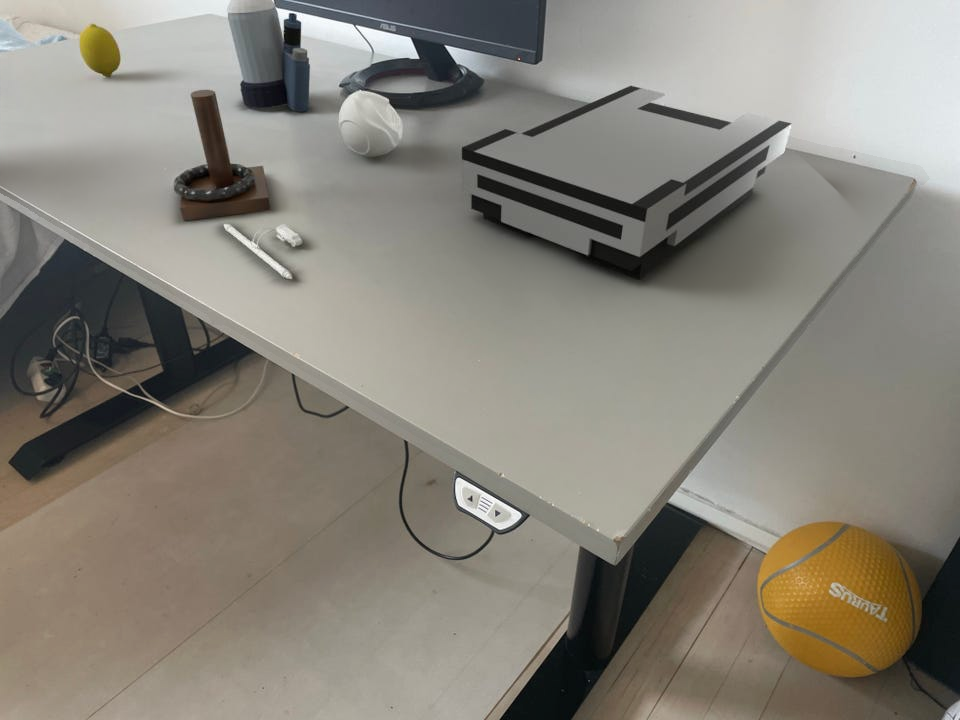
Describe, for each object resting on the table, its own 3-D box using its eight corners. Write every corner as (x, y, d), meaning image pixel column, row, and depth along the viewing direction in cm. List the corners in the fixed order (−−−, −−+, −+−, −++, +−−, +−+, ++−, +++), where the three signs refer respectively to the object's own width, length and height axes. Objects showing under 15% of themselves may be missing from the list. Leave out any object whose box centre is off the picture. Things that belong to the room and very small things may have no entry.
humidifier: (252, 94, 109) (204, -100, 95) (305, 91, 108) (265, -105, 94) (236, 109, 102) (183, -97, 88) (293, 105, 102) (248, -103, 88)
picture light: (221, 228, 74) (217, 210, 73) (260, 216, 76) (256, 198, 75) (288, 283, 66) (284, 262, 64) (329, 267, 68) (326, 247, 67)
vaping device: (295, 97, 106) (297, 11, 98) (311, 111, 103) (314, 24, 95) (279, 98, 104) (279, 11, 97) (294, 112, 101) (296, 24, 94)
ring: (175, 207, 74) (172, 197, 74) (176, 176, 81) (173, 166, 80) (257, 197, 77) (255, 187, 76) (252, 167, 83) (250, 157, 82)
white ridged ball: (398, 167, 87) (393, 103, 82) (336, 166, 87) (328, 101, 82) (407, 143, 93) (403, 82, 88) (349, 141, 93) (343, 80, 89)
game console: (775, 182, 84) (795, 112, 79) (633, 292, 65) (647, 209, 60) (623, 139, 95) (631, 75, 90) (462, 223, 75) (461, 147, 70)
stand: (183, 221, 75) (153, 111, 68) (184, 186, 82) (158, 84, 75) (270, 210, 78) (250, 103, 70) (265, 177, 84) (246, 76, 77)
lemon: (119, 70, 118) (104, 18, 113) (131, 78, 115) (116, 24, 110) (84, 76, 115) (67, 23, 110) (95, 84, 112) (78, 30, 107)
